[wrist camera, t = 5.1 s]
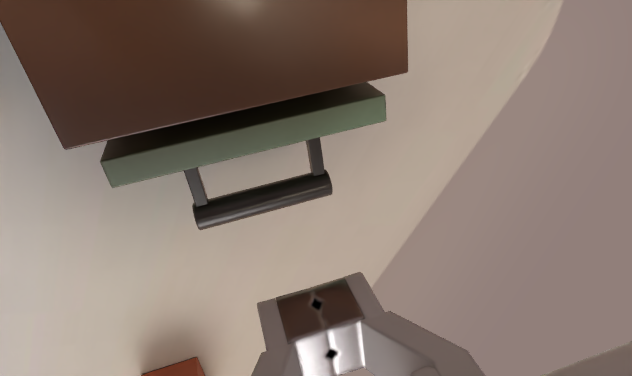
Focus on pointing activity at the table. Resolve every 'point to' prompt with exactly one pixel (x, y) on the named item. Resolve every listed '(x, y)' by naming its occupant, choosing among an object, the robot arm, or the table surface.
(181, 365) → the block
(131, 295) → the table surface
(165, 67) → the cabinet
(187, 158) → the drawer
